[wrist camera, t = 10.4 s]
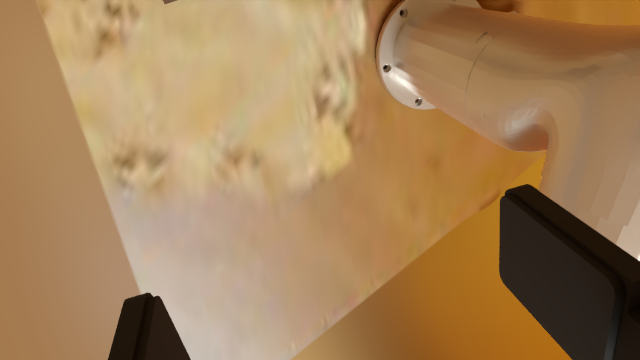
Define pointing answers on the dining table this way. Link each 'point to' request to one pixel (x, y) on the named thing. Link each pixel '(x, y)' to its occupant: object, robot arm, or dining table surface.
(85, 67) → the dining table surface
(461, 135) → the dining table surface
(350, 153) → the dining table surface
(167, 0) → the eye stand
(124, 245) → the dining table surface
